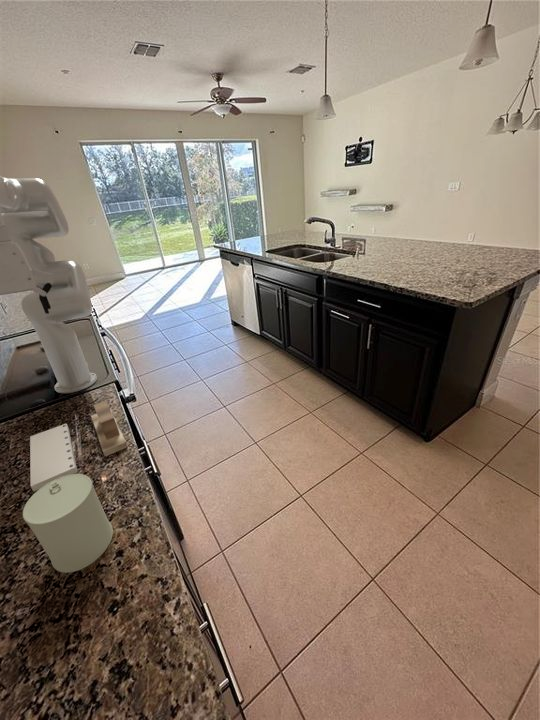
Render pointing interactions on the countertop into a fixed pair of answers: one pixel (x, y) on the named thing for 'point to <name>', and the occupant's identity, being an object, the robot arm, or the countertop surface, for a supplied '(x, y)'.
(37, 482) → the board
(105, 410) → the stub
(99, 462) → the countertop surface
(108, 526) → the can
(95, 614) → the countertop surface
